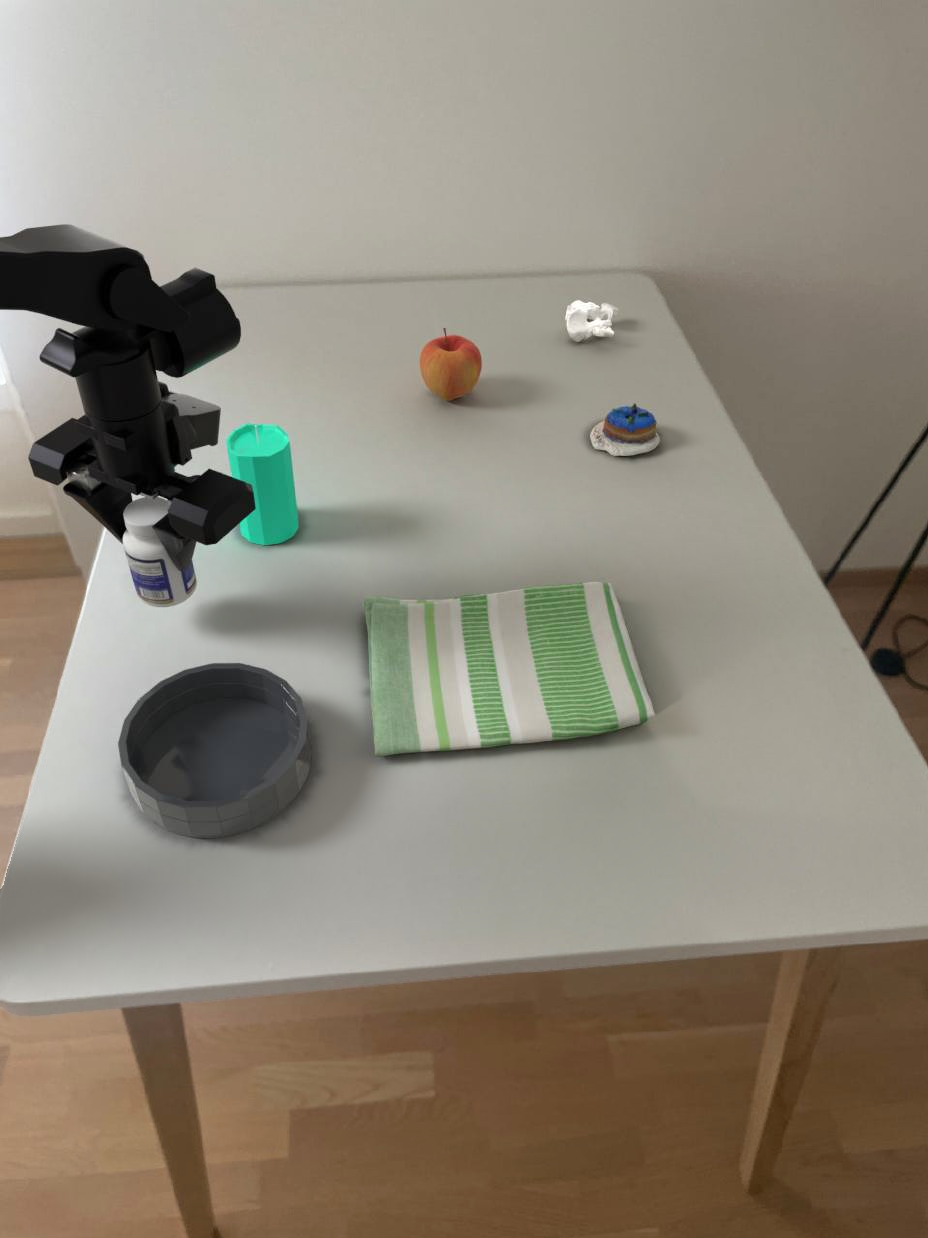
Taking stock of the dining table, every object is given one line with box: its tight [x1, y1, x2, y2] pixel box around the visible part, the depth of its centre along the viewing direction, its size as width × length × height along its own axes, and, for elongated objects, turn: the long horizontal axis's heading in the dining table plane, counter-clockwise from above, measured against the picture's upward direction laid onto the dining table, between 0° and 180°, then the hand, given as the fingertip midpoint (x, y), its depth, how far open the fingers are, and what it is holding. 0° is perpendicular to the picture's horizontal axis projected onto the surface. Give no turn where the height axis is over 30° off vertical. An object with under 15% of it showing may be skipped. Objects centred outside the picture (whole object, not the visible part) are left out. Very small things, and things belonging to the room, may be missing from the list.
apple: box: [419, 327, 483, 402], centre depth 115 cm, size 7×7×8 cm
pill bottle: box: [122, 496, 198, 608], centre depth 84 cm, size 5×5×9 cm
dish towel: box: [363, 581, 656, 757], centre depth 85 cm, size 18×23×3 cm
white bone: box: [564, 300, 619, 343], centre depth 129 cm, size 8×4×7 cm
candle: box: [225, 423, 300, 546], centre depth 95 cm, size 6×6×12 cm
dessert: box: [589, 403, 661, 457], centre depth 112 cm, size 8×7×6 cm
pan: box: [117, 662, 313, 839], centre depth 77 cm, size 14×14×4 cm
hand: (159, 557), depth 85 cm, fingers closed on pill bottle, 5 cm apart
